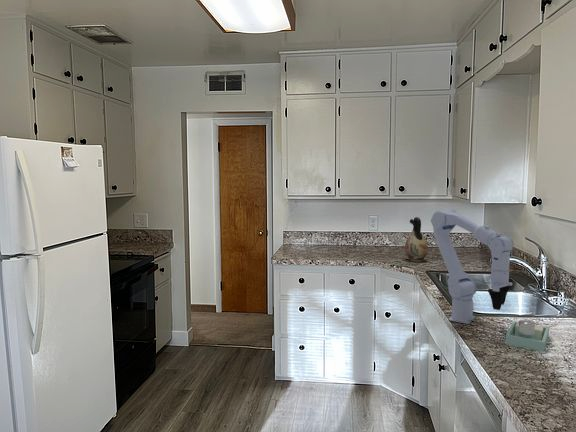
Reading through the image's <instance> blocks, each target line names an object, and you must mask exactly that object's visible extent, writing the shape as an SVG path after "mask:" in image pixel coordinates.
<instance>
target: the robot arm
mask: <svg viewBox="0 0 576 432" xmlns="http://www.w3.org/2000/svg"><path fill="white" fill-rule="evenodd" d="M430 223H431V225H432V229H433V236H434V240H435V242H436V244H437V246H438V249H439V252H440V255H441V257H442V260H443V262H444V265H445V267H446V270H447V271H448V274H449V278H448V279H447V282H446V283H447V285H448V294H449V295H450V296H451V299H452V300H451V303H452V304H451V316H450V317H449V318H448V321H451V322H456V323H459V324H460V323H462V324H465V325H466V324H467V325H470V323H471V322H472V320H473V319H475V317H476V316H474V301H473V298H474V296H475V294H476V292H477V285H476V282H475V281H473V280H472V277H471V275H469V274H468V273H467V272H465V270H464V269H463V268H464V267H463V266H462V264H461V261H460V259H459V256H458V255H457V254H458V253H457V252H456V249H455V247H454V244H453V242H452V240H451V238H450V234H451V232H452V231H453V229H455V227H456V226H457V227H459V228H461V229H463V230H466V231H467V232H469V233H471V234H473V237H474V239H475V240H477V241H479V242H480V243H482V244H484V245H486V246H487V247H488V249H489V250H490V254H491V266H490V267H491V268H490V269H491V270H490V271H491V272H490V282H489V283H490V285H491V286H492V288H488V289H487V292H488V294H489V297H490V300H491V305H492V309H493V310H496V311H500V310H501V309H502V305H505V303H506V302H505V301H506V299H507V295H508V292H509V290H510V289H511V286H513V282H510V281H509V280H510V264H511V263H510V262H511V261H510V258H511V251H512V250H513V248H514V247H515V245H514V244H515V243H514V240H513V239H512V238H511V237H510V236H509V235H501V233H500V232H496V231H494V230H492V229H491V227H490V226H488V225H478V224H476V223H474V222H473V221H471V220H470V219H468V218H467V217H466V216H464V215H462V213H460V212H459V211H457V210H454V209H451V210H441V211H440V210H437V211H435V212H434V213H433V214H432V216H431V219H430Z"/></svg>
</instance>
